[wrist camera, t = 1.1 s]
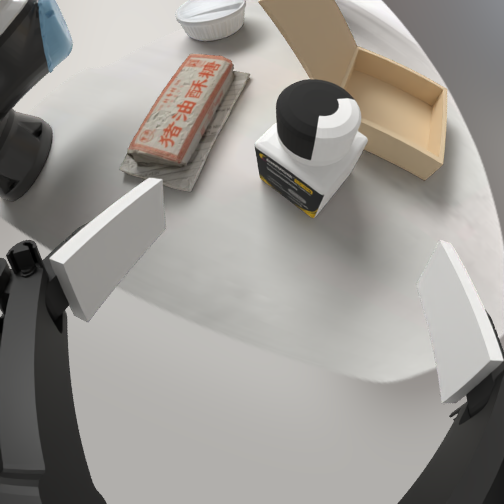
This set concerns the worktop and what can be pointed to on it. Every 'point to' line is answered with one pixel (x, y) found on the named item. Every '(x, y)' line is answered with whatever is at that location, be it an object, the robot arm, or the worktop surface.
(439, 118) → the mailer
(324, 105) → the medicine bottle
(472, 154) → the worktop surface
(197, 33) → the ramekin
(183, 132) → the packaged product
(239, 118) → the worktop surface
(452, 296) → the robot arm
